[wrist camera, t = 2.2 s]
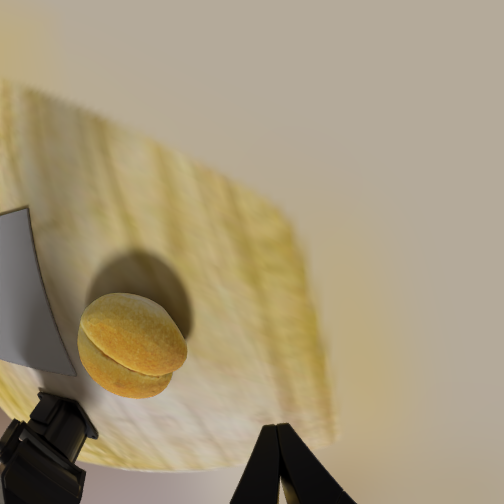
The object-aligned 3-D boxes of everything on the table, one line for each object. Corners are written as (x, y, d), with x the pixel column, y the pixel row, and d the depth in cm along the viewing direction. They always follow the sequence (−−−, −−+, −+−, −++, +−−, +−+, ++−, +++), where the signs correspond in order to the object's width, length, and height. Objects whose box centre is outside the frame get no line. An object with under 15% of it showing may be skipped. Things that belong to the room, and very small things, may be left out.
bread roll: (205, 324, 19) (198, 361, 15) (157, 391, 21) (147, 425, 17) (105, 263, 17) (77, 287, 14) (77, 343, 19) (56, 371, 16)
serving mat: (76, 374, 21) (75, 376, 21) (-1, 357, 21) (-2, 358, 20) (28, 208, 17) (26, 208, 16) (-41, 229, 16) (-42, 229, 16)
